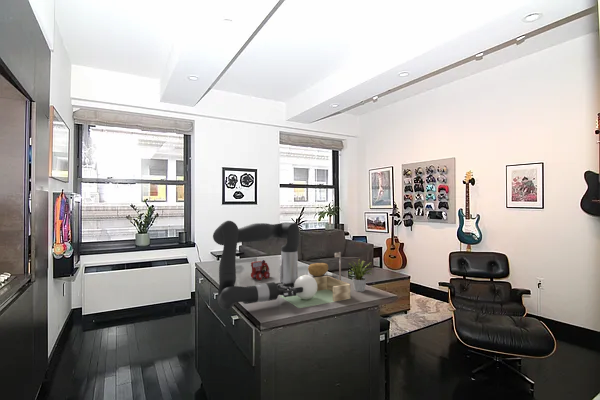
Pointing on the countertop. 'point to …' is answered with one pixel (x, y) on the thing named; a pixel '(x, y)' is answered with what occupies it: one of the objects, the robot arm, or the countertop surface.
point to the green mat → (311, 299)
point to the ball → (306, 286)
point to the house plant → (359, 276)
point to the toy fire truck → (260, 270)
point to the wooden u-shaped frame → (334, 284)
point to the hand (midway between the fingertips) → (298, 287)
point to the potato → (318, 269)
